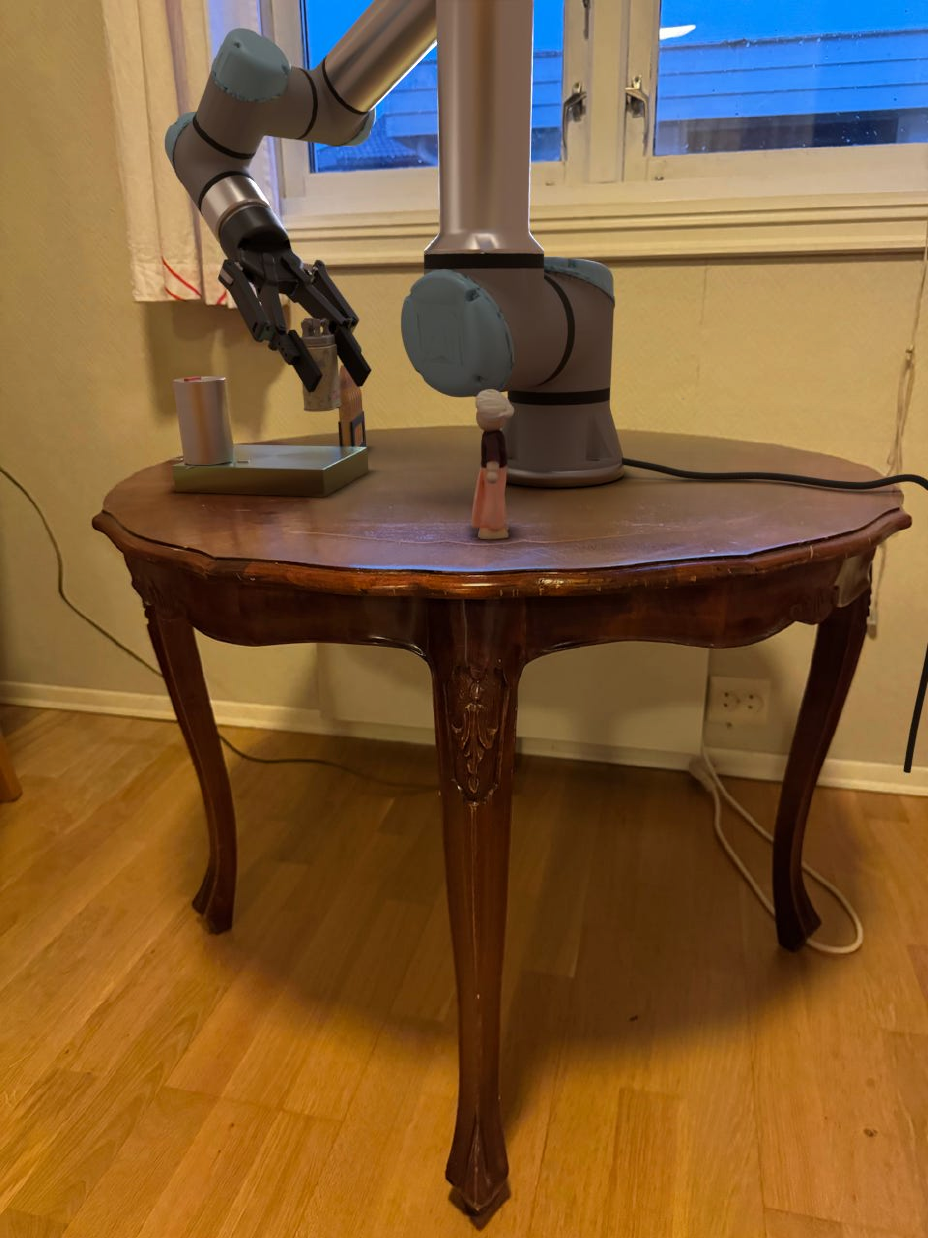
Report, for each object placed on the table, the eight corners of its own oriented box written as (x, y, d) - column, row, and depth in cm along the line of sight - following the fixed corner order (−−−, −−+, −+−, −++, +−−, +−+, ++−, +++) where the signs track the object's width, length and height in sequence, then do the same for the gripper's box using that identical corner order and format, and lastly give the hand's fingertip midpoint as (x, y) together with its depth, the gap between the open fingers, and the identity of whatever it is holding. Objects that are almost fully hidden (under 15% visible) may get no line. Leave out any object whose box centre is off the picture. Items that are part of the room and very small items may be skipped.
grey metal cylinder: (200, 455, 103) (189, 373, 99) (243, 456, 101) (234, 373, 98) (174, 464, 98) (162, 378, 94) (219, 465, 96) (209, 378, 93)
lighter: (315, 405, 105) (308, 316, 102) (346, 404, 105) (340, 316, 101) (300, 413, 98) (292, 319, 95) (333, 413, 98) (327, 318, 95)
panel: (368, 471, 107) (367, 445, 106) (318, 501, 93) (315, 471, 92) (221, 467, 112) (218, 442, 111) (151, 495, 97) (146, 466, 96)
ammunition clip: (354, 461, 113) (348, 365, 109) (340, 461, 114) (333, 365, 109) (366, 447, 123) (361, 358, 119) (353, 447, 124) (347, 359, 119)
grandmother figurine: (467, 524, 82) (464, 385, 78) (508, 522, 82) (507, 383, 78) (475, 547, 75) (472, 395, 71) (520, 545, 75) (520, 393, 71)
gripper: (303, 254, 112) (391, 395, 107) (163, 253, 100) (256, 412, 94) (324, 206, 106) (419, 351, 101) (180, 198, 94) (279, 363, 89)
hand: (340, 380), depth 98 cm, fingers closed on lighter, 6 cm apart
